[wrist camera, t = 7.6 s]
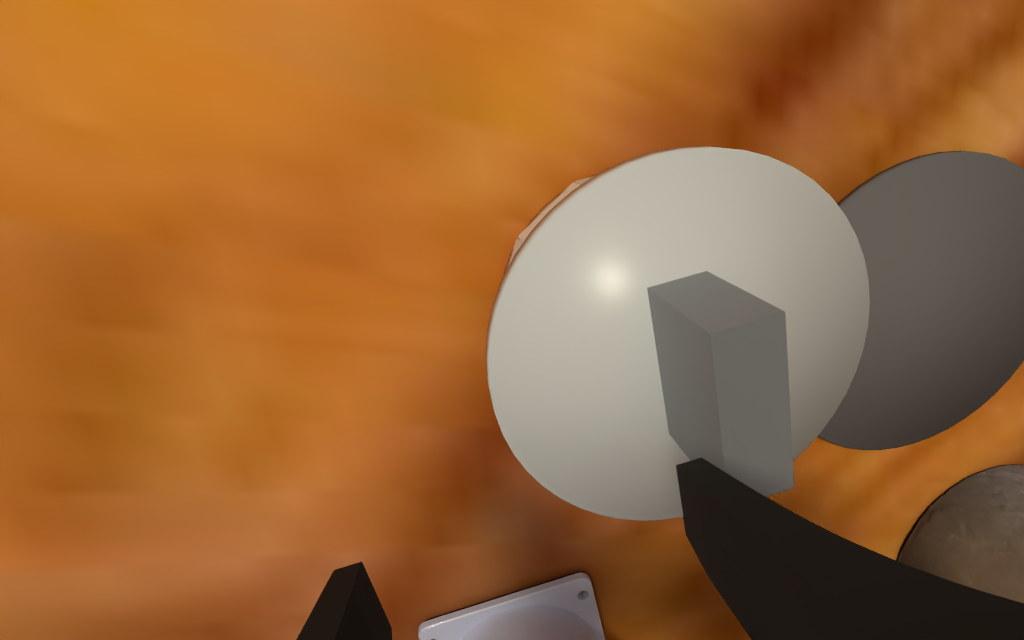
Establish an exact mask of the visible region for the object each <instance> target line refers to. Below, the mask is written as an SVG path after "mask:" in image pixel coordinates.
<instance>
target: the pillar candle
mask: <svg viewBox="0 0 1024 640" xmlns="http://www.w3.org/2000/svg"><path fill="white" fill-rule="evenodd" d="M898 562H901V563H903V564H906V565H908V566H911V567H913V568H916V569H919V570H922V571H925V572H927V573H930V574H933V575H936V576H939V577H941V578H944V579H947V580H950V581H953V582H955V583H959V584H962V585H965V586H968V587H971V588H974V589H977V590H980V591H983V592H987V593H990V594H993V595H997V596H1000V597H1004V598H1007V599H1010V600H1014V601H1017V602H1021V603H1024V465H1004V466H1001V465H1000V466H997V467H993V468H989V469H987V470H984V471H982V472H979V473H977V474H974V475H971V476H969V477H967V478H965V479H964V480H963V481H961V482H960V483H958V484H957V485H955V486H953V487H952V488H950V489H949V490H948V491H947V492H946V493H945V494H944V495H942V496H941V497H940V498H939V499H938V500H936V501H935V502H934V504H933V505H931V506H930V507H929V508H928V509H927V511H926V512H925V514H923V516H922V517H921V519H920V520H919V521H918V523H917V525H916V526H915V528H914V530H913V531H912V533H911V534H910V536H909V538H908V540H907V542H906V543H905V545H904V547H903V548H902V550H901V552H900V556H899V558H898Z"/></svg>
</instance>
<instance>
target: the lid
mask: <svg viewBox="0 0 1024 640" xmlns="http://www.w3.org/2000/svg"><path fill="white" fill-rule="evenodd" d="M869 308H870V296H869V279H868V274H867V269H866V264H865V259H864V255H863V252H862V250H861V247H860V244H859V241H858V238H857V236H856V234H855V232H854V230H853V228H852V226H851V224H850V223H849V221H848V219H847V217H846V215H845V214H844V213H843V211H842V210H841V209H840V207H839V206H838V205H837V204H836V202H835V201H834V200H833V198H832V197H831V196H830V195H829V194H828V193H827V192H826V191H825V190H823V189H822V188H821V187H820V186H819V185H818V184H817V183H816V182H815V181H814V180H812V179H811V178H809V177H808V176H806V175H805V174H803V173H802V172H800V171H798V170H797V169H795V168H794V167H792V166H790V165H788V164H785V163H783V162H781V161H778V160H776V159H774V158H772V157H769V156H765V155H761V154H757V153H753V152H750V151H746V150H737V149H727V148H717V147H706V146H698V147H678V148H671V149H666V150H661V151H656V152H651V153H647V154H644V155H641V156H638V157H635V158H632V159H629V160H626V161H624V162H621V163H619V164H617V165H615V166H613V167H611V168H609V169H607V170H605V171H603V172H601V173H599V174H597V175H595V176H594V177H592V178H591V179H589V180H588V181H586V182H585V183H583V184H582V185H580V186H579V187H577V188H576V189H574V190H573V191H571V192H570V193H569V194H568V195H567V196H566V197H564V198H563V199H562V200H561V201H560V202H559V203H558V204H556V205H555V206H554V207H553V208H552V209H551V210H550V211H549V212H548V213H547V214H546V215H545V216H544V217H543V218H542V220H541V221H540V222H539V223H538V224H537V225H536V226H535V227H534V228H533V229H532V231H531V232H530V233H529V235H528V236H527V238H526V239H525V241H524V242H523V243H522V245H521V246H520V248H519V249H518V251H517V252H516V253H515V255H514V257H513V259H512V261H511V263H510V265H509V267H508V269H507V270H506V272H505V274H504V276H503V278H502V281H501V283H500V286H499V289H498V291H497V294H496V297H495V300H494V302H493V306H492V310H491V315H490V319H489V324H488V328H487V339H486V352H485V357H486V373H487V381H488V386H489V391H490V396H491V400H492V404H493V408H494V412H495V415H496V417H497V420H498V423H499V426H500V428H501V431H502V434H503V436H504V438H505V439H506V441H507V443H508V445H509V447H510V448H511V450H512V452H513V454H514V455H515V456H516V458H517V459H518V460H519V461H520V463H521V464H522V465H523V467H524V468H525V469H526V471H527V472H528V473H530V474H531V475H532V476H533V477H534V478H535V479H536V480H537V481H538V482H539V483H540V484H541V485H542V486H543V487H545V488H546V489H548V490H549V491H551V492H552V493H553V494H555V495H556V496H558V497H559V498H561V499H563V500H565V501H567V502H569V503H571V504H573V505H575V506H577V507H579V508H582V509H584V510H587V511H590V512H593V513H596V514H599V515H604V516H609V517H613V518H618V519H629V520H664V519H671V518H678V517H683V510H682V504H681V497H680V490H679V484H678V477H677V470H676V465H678V464H682V463H685V462H688V461H691V460H695V459H698V458H703V459H705V460H706V461H708V462H710V463H711V464H713V465H715V466H716V467H718V468H719V469H721V470H723V471H724V472H726V473H727V474H729V475H731V476H732V477H734V478H735V479H737V480H739V481H740V482H742V483H744V484H745V485H747V486H749V487H750V488H752V489H753V490H755V491H757V492H758V493H760V494H762V495H763V496H765V497H767V496H770V495H773V494H776V493H780V492H783V491H786V490H789V489H792V488H794V473H793V461H794V460H795V459H796V458H797V457H798V456H799V455H800V454H801V453H802V452H803V451H805V449H806V448H807V447H808V446H809V445H810V444H811V443H812V442H813V440H814V439H815V438H816V437H817V436H818V435H819V434H820V433H821V431H822V430H823V428H824V427H825V426H826V424H827V423H828V422H829V420H830V419H831V418H832V416H833V415H834V413H835V412H836V410H837V408H838V407H839V405H840V403H841V401H842V400H843V398H844V396H845V395H846V393H847V391H848V388H849V386H850V384H851V382H852V380H853V377H854V375H855V373H856V370H857V367H858V364H859V361H860V358H861V355H862V352H863V349H864V344H865V339H866V334H867V329H868V321H869Z"/></svg>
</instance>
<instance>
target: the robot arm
mask: <svg viewBox="0 0 1024 640" xmlns="http://www.w3.org/2000/svg"><path fill="white" fill-rule="evenodd" d="M676 470H677V477H678V484H679V490H680V497H681V504H682V510H683V517H684V524H685V531H686V535H687V537H688V539H689V541H690V543H691V545H692V547H693V549H694V551H695V553H696V555H697V556H698V558H699V560H700V562H701V564H702V566H703V567H704V569H705V571H706V573H707V575H708V577H709V578H710V580H711V581H712V583H713V584H714V586H715V587H716V588H717V590H718V591H719V593H720V594H721V596H722V597H723V599H724V600H725V602H726V603H727V605H728V606H729V607H730V609H731V610H732V612H733V613H734V615H735V616H736V618H737V619H738V620H739V622H740V623H741V625H742V626H743V628H744V629H745V631H746V632H747V633H748V635H749V636H750V638H751V639H752V640H1024V603H1021V602H1017V601H1014V600H1010V599H1007V598H1004V597H1000V596H997V595H993V594H990V593H987V592H983V591H980V590H977V589H974V588H971V587H968V586H965V585H962V584H959V583H955V582H953V581H950V580H947V579H944V578H941V577H939V576H936V575H933V574H930V573H927V572H925V571H922V570H919V569H916V568H913V567H911V566H908V565H906V564H903V563H901V562H898V561H895V560H893V559H890V558H888V557H886V556H883V555H881V554H879V553H876V552H874V551H872V550H869V549H867V548H865V547H862V546H860V545H858V544H855V543H853V542H851V541H849V540H847V539H844V538H842V537H840V536H838V535H836V534H834V533H832V532H830V531H828V530H826V529H824V528H822V527H820V526H818V525H816V524H814V523H812V522H810V521H808V520H806V519H804V518H802V517H801V516H799V515H797V514H795V513H793V512H791V511H790V510H788V509H786V508H784V507H783V506H781V505H779V504H777V503H776V502H774V501H772V500H770V499H769V498H767V497H765V496H763V495H762V494H760V493H758V492H757V491H755V490H753V489H752V488H750V487H749V486H747V485H745V484H744V483H742V482H740V481H739V480H737V479H735V478H734V477H732V476H731V475H729V474H727V473H726V472H724V471H723V470H721V469H719V468H718V467H716V466H715V465H713V464H711V463H710V462H708V461H706V460H705V459H703V458H698V459H695V460H691V461H688V462H685V463H682V464H678V465H676ZM581 591H584V592H582V593H579V592H581ZM419 639H420V640H431V639H435V640H605V637H604V632H603V628H602V624H601V620H600V616H599V612H598V608H597V604H596V600H595V595H594V591H593V587H592V583H591V580H590V578H589V576H588V575H587V574H586V573H576V574H573V575H570V576H566V577H563V578H560V579H557V580H554V581H551V582H548V583H544V584H541V585H538V586H535V587H532V588H529V589H525V590H522V591H519V592H516V593H513V594H510V595H507V596H503V597H500V598H497V599H494V600H491V601H488V602H484V603H481V604H478V605H475V606H472V607H469V608H465V609H462V610H459V611H456V612H453V613H450V614H447V615H443V616H440V617H437V618H434V619H431V620H428V621H425V622H423V623H422V624H421V625H420V627H419ZM296 640H392V628H391V626H390V623H389V621H388V619H387V617H386V615H385V612H384V610H383V608H382V606H381V603H380V601H379V599H378V597H377V594H376V592H375V590H374V588H373V585H372V583H371V581H370V579H369V576H368V574H367V572H366V570H365V568H364V565H363V563H362V562H359V563H356V564H353V565H349V566H346V567H343V568H340V569H336V570H334V572H333V573H332V575H331V577H330V578H329V580H328V582H327V584H326V586H325V588H324V589H323V591H322V593H321V595H320V597H319V599H318V601H317V603H316V604H315V606H314V608H313V610H312V612H311V614H310V616H309V618H308V619H307V621H306V623H305V625H304V627H303V629H302V630H301V632H300V634H299V636H298V638H297V639H296Z"/></svg>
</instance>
